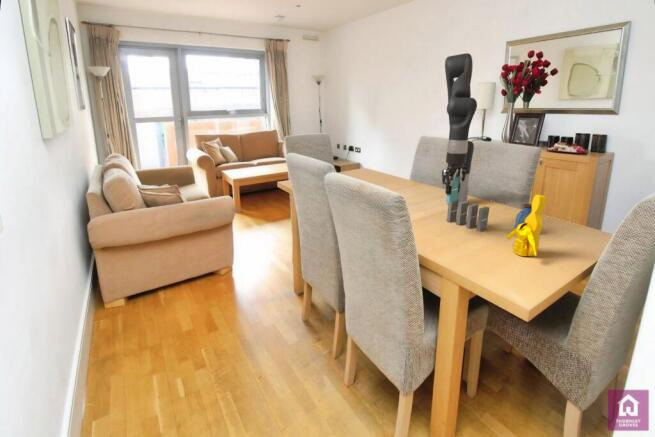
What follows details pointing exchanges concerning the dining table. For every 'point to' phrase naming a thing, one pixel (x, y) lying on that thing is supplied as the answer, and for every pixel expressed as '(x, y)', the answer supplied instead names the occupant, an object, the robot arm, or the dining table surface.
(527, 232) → the figure statuette
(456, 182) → the end tile
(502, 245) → the dining table surface
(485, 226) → the tile
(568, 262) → the dining table surface
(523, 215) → the perfume bottle
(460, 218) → the tile
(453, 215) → the tile
